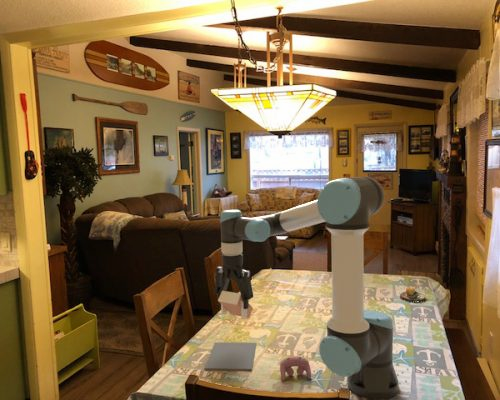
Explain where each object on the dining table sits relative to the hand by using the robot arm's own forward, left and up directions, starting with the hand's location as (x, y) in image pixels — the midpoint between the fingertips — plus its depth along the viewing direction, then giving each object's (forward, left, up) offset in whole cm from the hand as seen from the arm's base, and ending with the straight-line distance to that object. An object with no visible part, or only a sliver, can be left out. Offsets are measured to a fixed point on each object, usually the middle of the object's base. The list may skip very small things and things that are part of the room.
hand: (234, 315), depth 151 cm
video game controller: (-15, -22, -15) cm, 30 cm away
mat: (-2, +1, -15) cm, 15 cm away
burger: (+61, -80, -15) cm, 102 cm away
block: (+4, -2, 0) cm, 5 cm away
